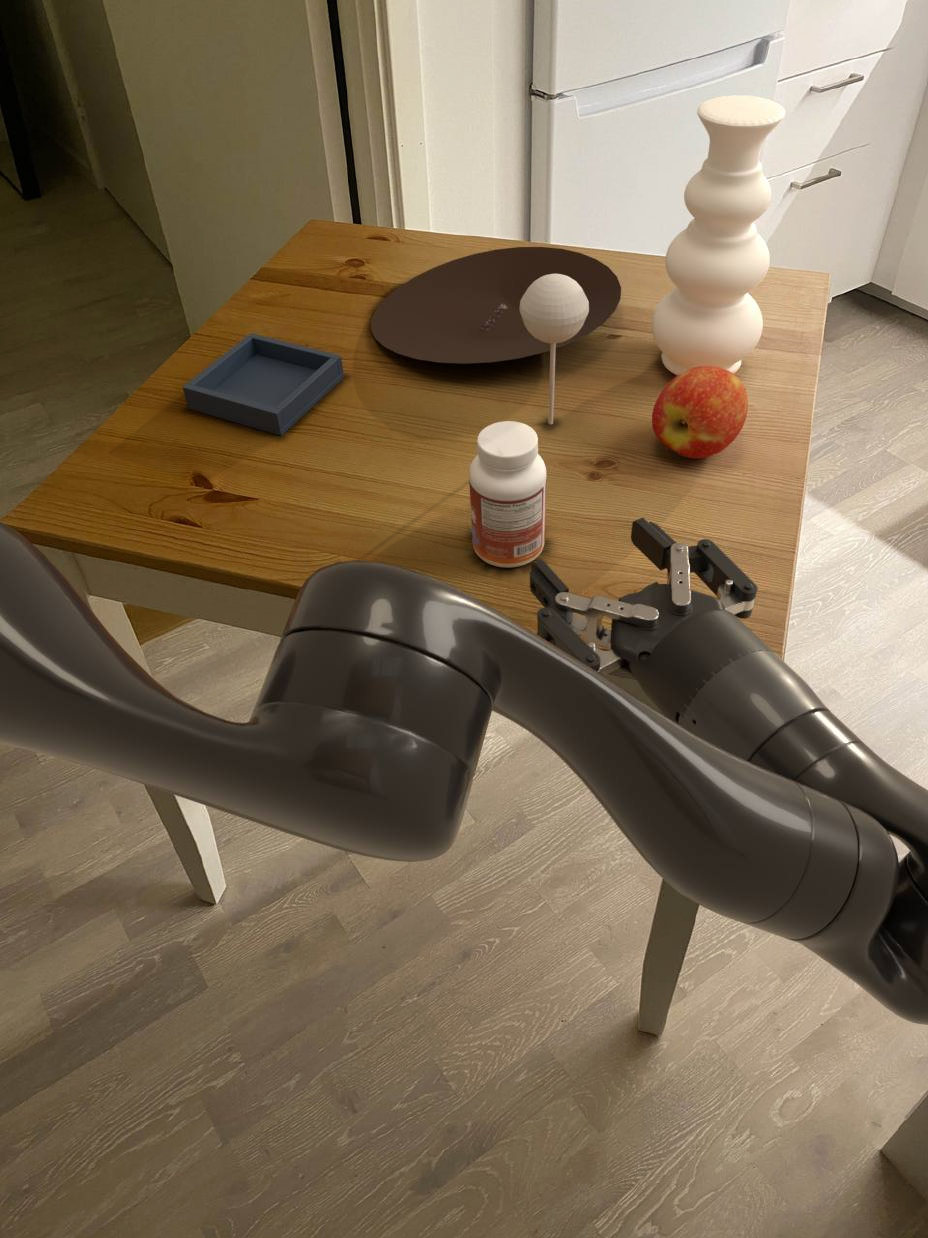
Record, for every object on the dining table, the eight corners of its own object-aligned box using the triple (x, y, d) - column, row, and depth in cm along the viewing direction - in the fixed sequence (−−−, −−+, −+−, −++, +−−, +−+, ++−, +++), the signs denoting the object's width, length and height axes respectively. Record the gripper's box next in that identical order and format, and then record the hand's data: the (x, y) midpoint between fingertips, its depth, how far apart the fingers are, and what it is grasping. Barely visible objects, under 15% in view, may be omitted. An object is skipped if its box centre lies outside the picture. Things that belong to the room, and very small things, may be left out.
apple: (634, 451, 89) (643, 377, 83) (683, 411, 93) (695, 338, 87) (708, 485, 85) (722, 409, 79) (756, 441, 89) (773, 367, 83)
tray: (281, 436, 93) (276, 413, 91) (188, 409, 97) (182, 386, 95) (344, 377, 100) (341, 355, 98) (255, 354, 103) (250, 332, 102)
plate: (438, 247, 120) (436, 218, 117) (650, 284, 111) (654, 254, 108) (324, 356, 103) (319, 325, 100) (565, 410, 94) (567, 378, 91)
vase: (757, 343, 101) (810, 87, 83) (749, 399, 94) (806, 132, 76) (655, 333, 103) (684, 81, 85) (640, 386, 96) (669, 124, 78)
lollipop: (510, 433, 91) (509, 287, 80) (530, 401, 95) (532, 257, 84) (572, 445, 90) (579, 298, 79) (589, 412, 93) (599, 266, 82)
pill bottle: (485, 516, 83) (481, 409, 75) (553, 529, 81) (557, 421, 73) (462, 562, 79) (456, 454, 71) (533, 577, 77) (535, 468, 69)
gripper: (837, 614, 57) (672, 474, 67) (644, 709, 52) (499, 544, 63) (810, 693, 62) (661, 552, 72) (633, 785, 58) (500, 621, 68)
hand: (586, 548), depth 67 cm, fingers open, 8 cm apart
